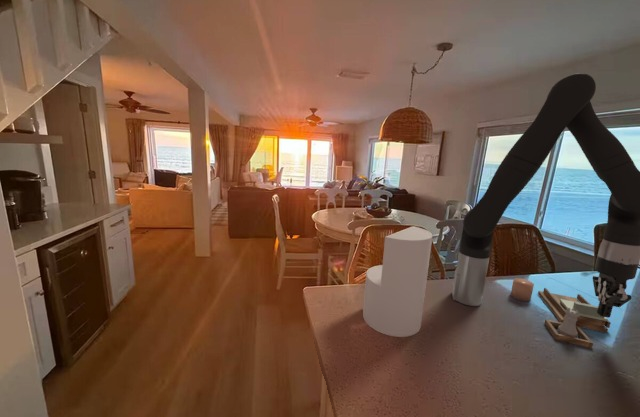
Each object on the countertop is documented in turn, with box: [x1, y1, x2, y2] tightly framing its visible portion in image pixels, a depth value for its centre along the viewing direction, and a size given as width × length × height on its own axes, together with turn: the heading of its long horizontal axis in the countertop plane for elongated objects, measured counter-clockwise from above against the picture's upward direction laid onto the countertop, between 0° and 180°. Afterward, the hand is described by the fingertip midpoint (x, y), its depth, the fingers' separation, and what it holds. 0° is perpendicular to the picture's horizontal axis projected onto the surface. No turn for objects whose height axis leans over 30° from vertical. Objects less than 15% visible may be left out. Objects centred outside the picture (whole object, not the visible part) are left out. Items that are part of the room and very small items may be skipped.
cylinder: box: [362, 225, 433, 338], centre depth 79 cm, size 17×17×28 cm
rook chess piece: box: [556, 308, 580, 338], centre depth 76 cm, size 4×4×8 cm
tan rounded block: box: [510, 277, 535, 302], centre depth 97 cm, size 6×6×6 cm
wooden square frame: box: [544, 318, 594, 349], centre depth 77 cm, size 8×8×2 cm
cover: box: [559, 299, 609, 321], centre depth 84 cm, size 8×8×4 cm
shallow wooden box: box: [537, 287, 611, 334], centre depth 89 cm, size 12×20×3 cm, turn 157°
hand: (603, 315), depth 75 cm, fingers closed
